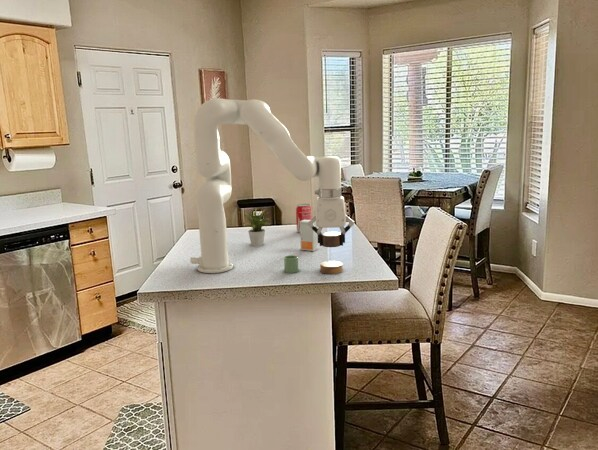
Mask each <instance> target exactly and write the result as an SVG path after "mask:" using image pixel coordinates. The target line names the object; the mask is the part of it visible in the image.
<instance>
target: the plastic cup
mask: <svg viewBox="0 0 598 450" xmlns="http://www.w3.org/2000/svg"><path fill="white" fill-rule="evenodd" d="M283 268H284V270H283V271H284V272H285V273H287V274H295V273H298V272H299V256H298V255H293V254H291V255H285V256H284V257H283Z"/></svg>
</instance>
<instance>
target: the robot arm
mask: <svg viewBox="0 0 598 450" xmlns="http://www.w3.org/2000/svg"><path fill="white" fill-rule="evenodd" d="M220 125H247V126H248V127H249V128H250V129H251V130H252V131H253V132H254V133H255V135H256V136H258V137H259V138H260V139H261V140H262V142H264V143H265V145H266V146H267V147H268V148H269V150H270V151H271V153H273V155H274V156H275V157H276V158H277V160H278V161H279V162H280V163H281V164H282V166H283V167H284V168H285V169H286V170H287V171H288V172H289V173H290V174H291V175H292V176H293V177H294V178H296V179H297V180H298V181H302V182H306V181H309V180H312V179H313V178H318V189H316V190H314V195H317V196H318V197H316V202H315V215H314V217H311V220H310V221H309V222H308V225H309V226H310V227H311V228H312V230H314V231H315V232H316V233H317V235H318V244H319V247H323V246H322V233H323V232H322V230H323V228H324V229H325V228H329V229H330V228H331V229H332V228H339V230H340V233H341V246H342V247H343V246H344V244H345V243H346V233H347V232H349V231H350V229H351V228H352V227H354V225H355V221H354V220H353V218H350V217H349V216H348V215H347V214H346V213H347V212H346V203H345V197H344V196H342V161H341V159H340V157H339V156H336V155H335V156H333V155H330V156H327V155H326V156H314V155H313V156H312V155H306V154H304V152H303V151H302V150H301V149H300V148H299V147H298V146H297V145H296V144H295V142H294V141H293V139H292V138H291V135H290V132H289V130H288V129H287V128H286V126H285V125H284V124H283V123H282V122H281V121H280V120H279V119H278V118H277V117H276V116H275V115H274V114H273V113H272V112H271V109H270V107H269V105H268V104H267V103H266V102H265V101H264V100H260V99H253V98H252V99H248V100H247V99H245V100H244V99H227V98H221V97H217V98H211V99H208V100H207V101H204V102H203V103H201V104H200V106H199V107H198V108H197V109H196V111H195V114H194V116H193V135H194V153H195V154H194V155H195V167H196V168H195V169H196V171H197V173H198V174H199V175H200V176H201V177H203V178H205V181H204V182H202V183H201V184H200V185H199V186H198V187H197V188H196V190H195V194H194V202H195V207H196V211H197V219H198V228H199V229H198V230H199V231H198V232H199V243H200V244H199V245H200V256H199V257H193V256H191V257H190V259H189V260H190V261H189V262H190V263H191V264H192V265H196V264H197V265H198V266H197V271H198V272H199V273H204V274H219V273H224V272H228V271H230V270H232V269H233V268H234V264H233V263H232V262H231V261H229V249H228V248H229V247H228V234H227V218H226V213H225V208H224V207H225V206H224V204H225V203H227V202H228V201H229V200H230V198H231V195H232V191H233V189H232V187H233V186H232V172H231V169H232V168H231V160H230V157H229V156H228V154H227V153H226V151H224V150H222V149H221V145H220V144H221V143H220V142H221V139H220V133H219V126H220ZM315 221H316V226H317V227H316V226H314V225H313V223H314V222H315ZM347 222H348V224H347ZM346 224H347V225H346Z"/></svg>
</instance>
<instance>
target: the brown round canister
mask: <svg viewBox="0 0 598 450" xmlns="http://www.w3.org/2000/svg"><path fill="white" fill-rule="evenodd" d="M321 233H322V246H321V247H324V248H338V247H341V246H342V245H341V232H338V231H325V232H321Z"/></svg>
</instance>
